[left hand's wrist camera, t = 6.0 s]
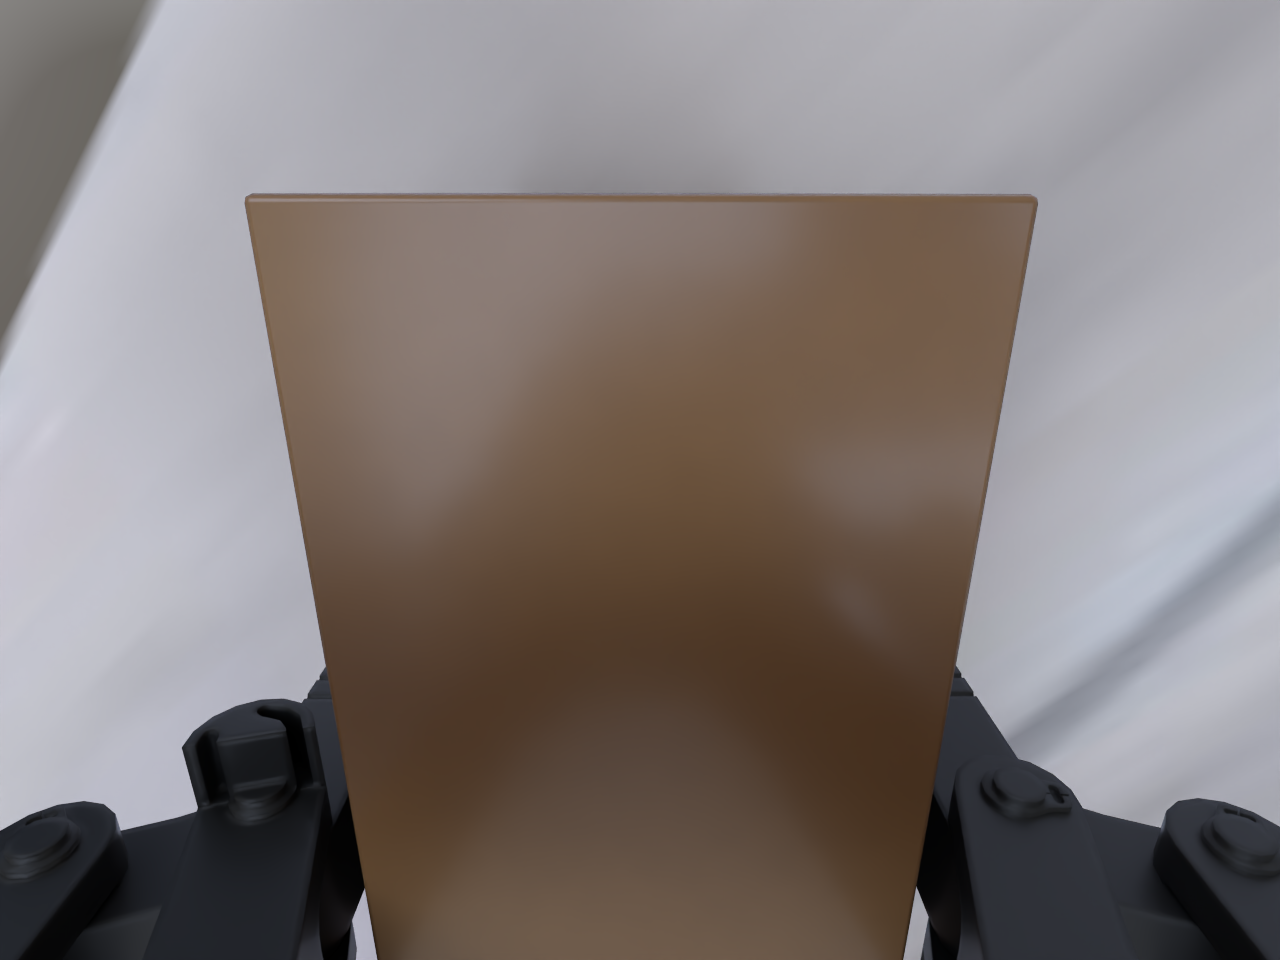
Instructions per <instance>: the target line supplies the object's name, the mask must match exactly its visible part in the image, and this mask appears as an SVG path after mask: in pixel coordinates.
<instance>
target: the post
mask: <svg viewBox="0 0 1280 960" xmlns="http://www.w3.org/2000/svg"><path fill="white" fill-rule="evenodd" d="M1037 206H1038V202H1037V198H1036V197H1035V196H1033V195H1031V194H747V193H290V194H251V195H249V196H247V197H246V198H245V207H246V213H247V219H248V225H249V230H250V236H251V242H252V247H253V253H254V259H255V264H256V270H257V276H258V282H259V287H260V293H261V299H262V304H263V310H264V316H265V321H266V327H267V333H268V339H269V344H270V350H271V356H272V361H273V367H274V373H275V378H276V384H277V390H278V396H279V401H280V407H281V413H282V418H283V424H284V430H285V435H286V441H287V447H288V452H289V458H290V464H291V470H292V475H293V481H294V487H295V492H296V498H297V504H298V509H299V515H300V521H301V527H302V532H303V538H304V544H305V549H306V555H307V561H308V566H309V572H310V578H311V584H312V589H313V595H314V601H315V606H316V612H317V618H318V623H319V629H320V635H321V641H322V646H323V652H324V658H325V663H326V669H327V675H328V680H329V686H330V692H331V698H332V703H333V709H334V715H335V720H336V726H337V732H338V737H339V743H340V749H341V754H342V760H343V766H344V772H345V777H346V783H347V789H348V794H349V800H350V806H351V811H352V817H353V823H354V829H355V834H356V840H357V846H358V851H359V857H360V863H361V868H362V874H363V880H364V886H365V891H366V897H367V903H368V908H369V914H370V920H371V925H372V931H373V937H374V943H375V948H376V954H377V960H903V958H904V952H905V946H906V941H907V935H908V930H909V924H910V918H911V913H912V907H913V901H914V896H915V890H916V885H917V879H918V873H919V868H920V862H921V857H922V851H923V845H924V840H925V834H926V829H927V823H928V817H929V812H930V806H931V800H932V795H933V789H934V784H935V778H936V772H937V767H938V761H939V756H940V750H941V744H942V739H943V733H944V728H945V722H946V716H947V711H948V705H949V699H950V694H951V688H952V683H953V677H954V671H955V666H956V660H957V655H958V649H959V643H960V638H961V632H962V627H963V621H964V615H965V610H966V604H967V598H968V593H969V587H970V582H971V576H972V570H973V565H974V559H975V554H976V548H977V542H978V537H979V531H980V526H981V520H982V514H983V509H984V503H985V497H986V492H987V486H988V481H989V475H990V469H991V464H992V458H993V453H994V447H995V441H996V436H997V430H998V425H999V419H1000V413H1001V408H1002V402H1003V396H1004V391H1005V385H1006V380H1007V374H1008V368H1009V363H1010V357H1011V352H1012V346H1013V340H1014V335H1015V329H1016V324H1017V318H1018V312H1019V307H1020V301H1021V295H1022V290H1023V284H1024V279H1025V273H1026V267H1027V262H1028V256H1029V251H1030V245H1031V239H1032V234H1033V228H1034V223H1035V217H1036V211H1037Z"/></svg>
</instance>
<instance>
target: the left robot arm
mask: <svg viewBox="0 0 1280 960" xmlns="http://www.w3.org/2000/svg"><path fill="white" fill-rule="evenodd" d="M182 750H183V754H184V757H185V761H186V765H187V768H188V772H189V776H190V780H191V783H192V787H193V791H194V794H195V798H196V802H197V806H198V809H197V812H194V813H191V814H188V815H184V816H181V817H178V818H174V819H169V820H165V821H161V822H157V823H152V824H148V825H144V826H140V827H135V828H131V829H127V830H122V831H121V830H120V827H119V824H118V821H117V818H116V815H115V813H114V812H112V811H111V810H110V809H109V808H108V807H106V806H105V805H104V804H99V803H93V802H86V801H81V802H75V803H68V804H61V805H56V806H53V807H50V808H48V809H45V810H42V811H39V812H36V813H34V814H31V815H28V816H26V817H25V818H23V819H21V820H19V821H17V822H15V823H14V824H12V825H10V826H8V827H6V828H5V829H3V830H1V831H0V960H356V951H357V948H356V941H355V934H354V928H353V923H352V919H353V916H354V914H355V911H356V909H357V906H358V904H359V901H360V899H361V896H362V894H363V891H364V889H365V886H364V880H363V874H362V868H361V863H360V857H359V851H358V846H357V840H356V834H355V829H354V823H353V817H352V811H351V806H350V800H349V794H348V789H347V783H346V777H345V772H344V766H343V760H342V754H341V749H340V743H339V737H338V732H337V726H336V720H335V715H334V709H333V703H332V698H331V692H330V686H329V680H328V675H327V669H326V667H325V669H324V670H323V672H322V673H321V675H320V680H317V681H316V682H315V684H314V685H313V687H312V688H311V690H310V692H309V693H308V698H307V699H304V701H303V702H302V703H299V702H295V701H291V700H287V699H266V700H258V701H254V702H250V703H246V704H242V705H238V706H235V707H233V708H231V709H229V710H227V711H225V712H222V713H220V714H218V715H216V716H214V717H212V718H211V719H209V720H208V721H207V722H205V723H204V724H203V725H201V726H200V727H199V728H197V729H196V730H195V731H194V732H193V733H192V734H191V736H190V737H189V738H188V740H187V741H186V743H185V744H184V745H183V747H182ZM916 886H917V889H918V891H919V894H920V896H921V899H922V901H923V904H924V906H925V909H926V911H927V914H928V916H929V918H928V923H927V928H926V934H925V939H924V944H923V950H922V955H921V960H1280V827H1279V826H1277V825H1276V824H1274V823H1272V822H1270V821H1268V820H1266V819H1265V818H1263V817H1261V816H1259V815H1257V814H1256V813H1254V812H1251V811H1248V810H1245V809H1243V808H1240V807H1237V806H1234V805H1231V804H1228V803H1226V802H1221V801H1214V800H1207V799H1200V798H1196V799H1189V800H1183V801H1178V802H1176V803H1175V804H1174V805H1173V806H1172V807H1170V808H1169V809H1168V810H1167V811H1166V814H1165V817H1164V820H1163V823H1162V826H1161V828H1158V827H1154V826H1150V825H1145V824H1141V823H1137V822H1133V821H1128V820H1124V819H1120V818H1115V817H1111V816H1107V815H1103V814H1100V813H1096V812H1093V811H1090V810H1087V809H1083V808H1082V806H1081V805H1080V803H1079V801H1078V800H1077V798H1076V797H1075V795H1074V793H1073V792H1072V790H1071V789H1070V788H1068V787H1067V786H1066V785H1065V784H1064V783H1063V782H1061V781H1060V780H1059V779H1058V778H1057V777H1056V776H1054V775H1053V774H1051V773H1050V772H1048V771H1046V770H1044V769H1042V768H1040V767H1038V766H1036V765H1034V764H1032V763H1030V762H1027V761H1023V760H1020V759H1018V758H1017V757H1016V755H1015V754H1014V752H1013V751H1012V749H1011V748H1010V746H1009V745H1008V743H1007V742H1006V740H1005V739H1004V737H1003V736H1002V734H1001V733H1000V731H999V730H998V728H997V727H996V725H995V724H994V722H993V721H992V719H991V718H990V716H989V715H988V713H987V712H986V710H985V709H984V707H983V706H982V704H981V703H980V701H979V700H978V698H977V697H976V696H974V695H973V691H972V689H971V688H970V686H969V685H968V683H967V682H966V680H965V679H964V678H962V677H961V673H960V671H959V670H958V668H957V667H956V666H955V671H954V677H953V683H952V688H951V694H950V699H949V705H948V711H947V716H946V722H945V728H944V733H943V739H942V744H941V750H940V756H939V761H938V767H937V772H936V778H935V784H934V789H933V795H932V800H931V806H930V812H929V817H928V823H927V829H926V834H925V840H924V845H923V851H922V857H921V862H920V868H919V873H918V879H917V885H916Z"/></svg>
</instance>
